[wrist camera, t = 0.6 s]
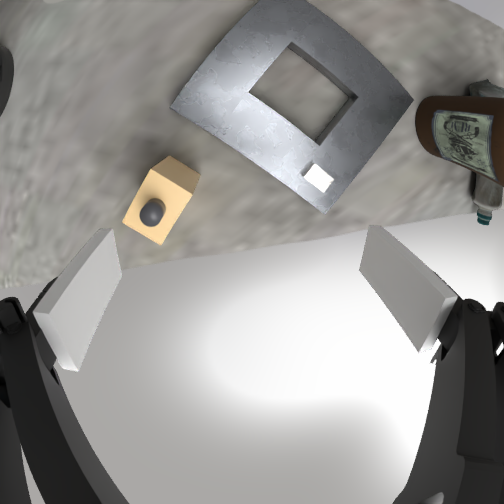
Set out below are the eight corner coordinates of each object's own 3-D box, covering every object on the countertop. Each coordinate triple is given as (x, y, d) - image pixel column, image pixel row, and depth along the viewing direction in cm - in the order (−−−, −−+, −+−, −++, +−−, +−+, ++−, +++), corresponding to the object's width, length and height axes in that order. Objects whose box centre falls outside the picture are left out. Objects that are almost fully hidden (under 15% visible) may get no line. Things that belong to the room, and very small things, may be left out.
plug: (145, 196, 32) (115, 230, 23) (169, 155, 30) (144, 173, 21) (175, 214, 34) (156, 255, 24) (200, 174, 32) (190, 200, 22)
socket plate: (173, 108, 28) (167, 107, 25) (274, -9, 21) (280, -20, 18) (318, 208, 35) (327, 217, 32) (403, 99, 29) (418, 99, 26)
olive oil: (451, 88, 28) (588, 113, 6) (462, 151, 33) (586, 207, 11) (403, 96, 29) (567, 119, 7) (419, 166, 34) (560, 240, 11)
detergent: (456, 71, 26) (447, 217, 37) (490, 71, 20) (477, 233, 31) (494, 92, 28) (483, 215, 39) (522, 97, 22) (509, 229, 33)
